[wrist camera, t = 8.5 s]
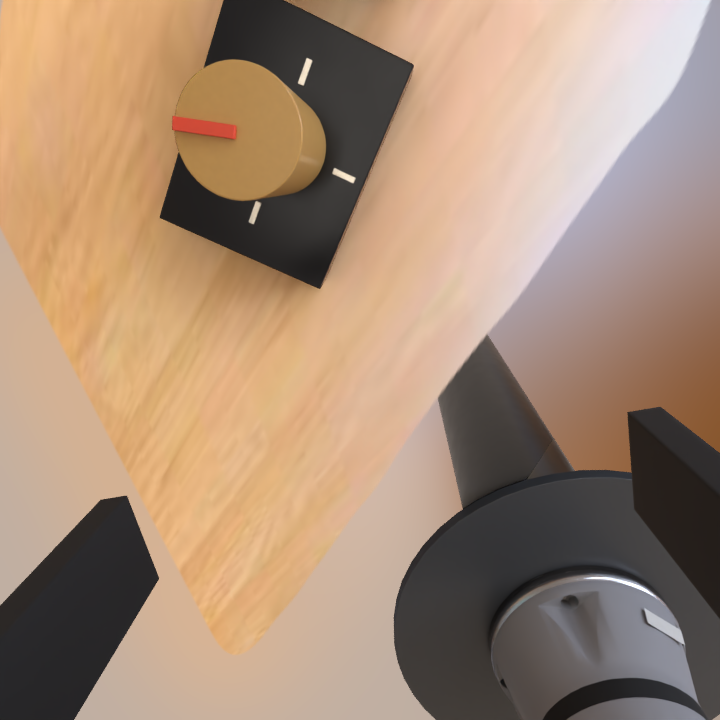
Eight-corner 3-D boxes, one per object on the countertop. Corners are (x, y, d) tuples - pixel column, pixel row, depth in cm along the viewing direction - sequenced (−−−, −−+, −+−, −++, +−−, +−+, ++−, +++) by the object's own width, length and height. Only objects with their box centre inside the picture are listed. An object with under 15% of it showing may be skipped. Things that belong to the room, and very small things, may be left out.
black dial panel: (325, 280, 36) (319, 289, 33) (177, 214, 35) (157, 218, 32) (412, 74, 32) (414, 63, 29) (245, -8, 31) (230, -28, 28)
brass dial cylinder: (331, 100, 30) (308, 68, 21) (320, 201, 32) (294, 209, 23) (235, 86, 30) (171, 48, 21) (230, 187, 32) (169, 191, 23)
